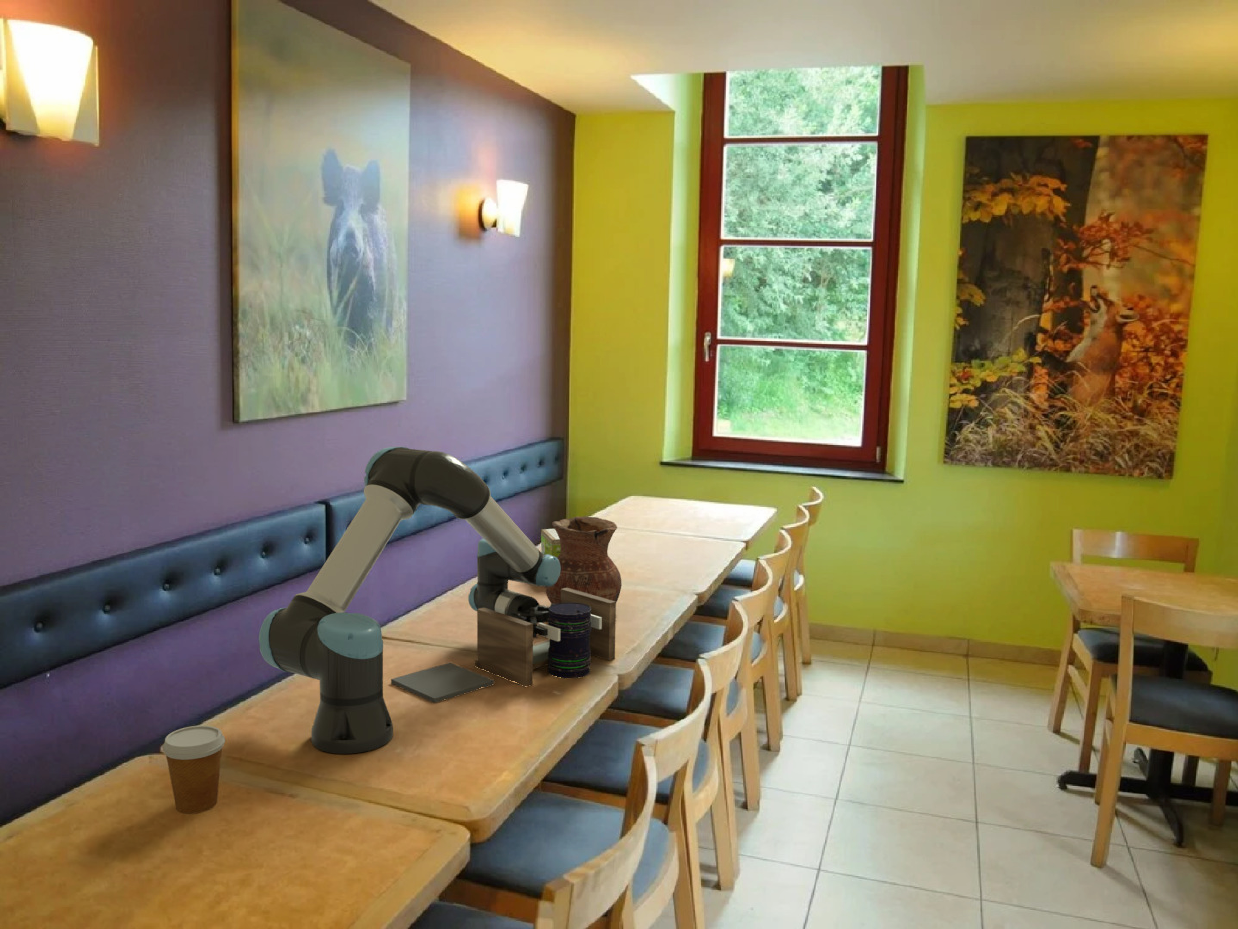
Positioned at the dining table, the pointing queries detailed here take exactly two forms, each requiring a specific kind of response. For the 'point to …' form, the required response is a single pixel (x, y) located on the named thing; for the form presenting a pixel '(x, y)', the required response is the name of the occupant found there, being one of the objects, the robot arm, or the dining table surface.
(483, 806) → the dining table surface
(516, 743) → the dining table surface
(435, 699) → the charcoal mat
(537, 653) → the grey offcut plank
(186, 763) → the disposable coffee cup
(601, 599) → the wooden bookend pair
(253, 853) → the dining table surface
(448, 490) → the robot arm
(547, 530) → the tea box
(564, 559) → the jug
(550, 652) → the dark blue cylinder
